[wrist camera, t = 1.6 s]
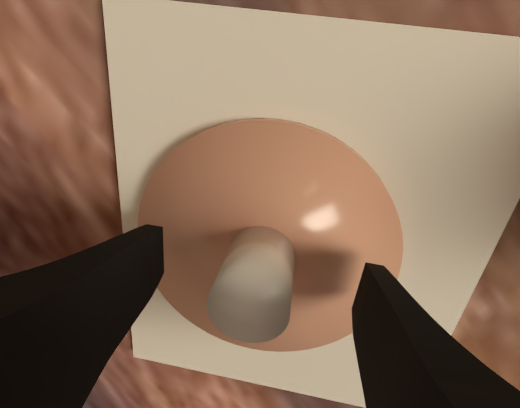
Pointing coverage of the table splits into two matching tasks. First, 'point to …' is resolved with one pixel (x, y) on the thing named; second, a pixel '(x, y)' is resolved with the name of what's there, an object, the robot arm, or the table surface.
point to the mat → (336, 124)
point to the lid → (269, 232)
